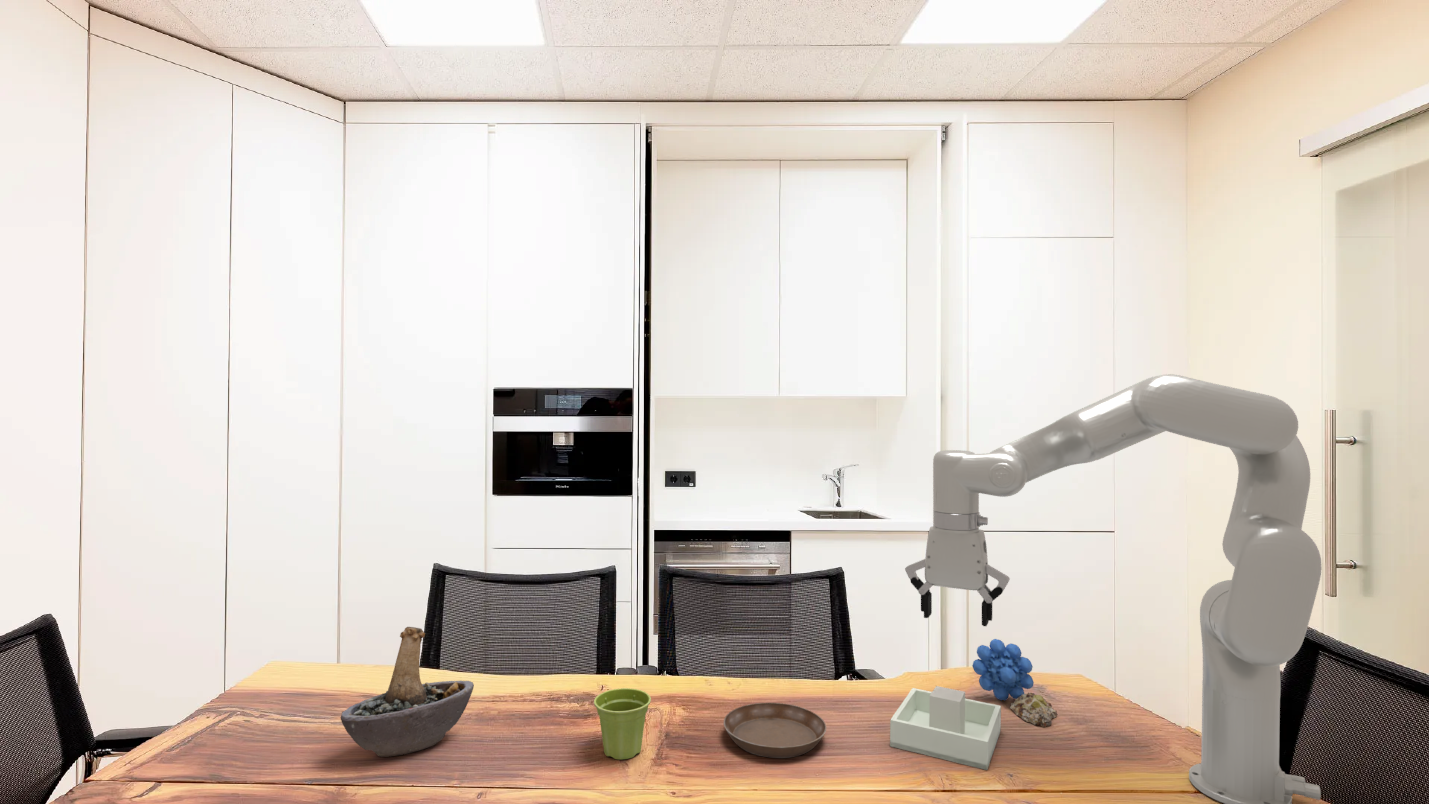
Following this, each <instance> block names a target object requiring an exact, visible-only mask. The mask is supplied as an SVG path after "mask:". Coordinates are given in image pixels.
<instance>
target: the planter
mask: <svg viewBox="0 0 1429 804" xmlns="http://www.w3.org/2000/svg"><path fill="white" fill-rule="evenodd" d="M425 636H426V633H425V632H424V630H423V629H422V628H420V627H414V626H407V627H405V628H404V630H402V631H401V632H400V634H399V637H400V638H401V641H400V645H399V649H398V653H397V656H396V660H395V664H394V669H393V671H392V676H391V680H390V683H389V686H388V688H387V690H386V692H384V693H382V694H378V695H375V696H373V697H371V698H367V699H363V700H362V701H360V702H358V703H355V704H353V705H351V706H349V707H348V708H347V709H346V710H344V711H342V712H341V716H340V722H341V723H342V726H343V727H344V729H345V731H346V733H347V734H348V735H349V737H351V739H352V740H353V742H355V743H356V744H357V745H358V746H360V748H363V749H364V750H365V751H372V752H374V753H375V754H376V755H377V756H378V757H380V758H386V757H387V758H388V757H389V756H390V757H396V756H402V755H403V754H404V755H407V754H411V753H415V752H420V751H422V750H424V749H425V750H426V749H427V748H429V747H432V746H435V745H436V744H437V743H438V742H441V741H443V739H444V737H445V736H446V734H447V732H449V731H450V730H451V729H452V728H453V727H454V726H455V725H456V724H458V722H459V720H460V719H461V717H462V715H463V714H464V712H465V710H466V708H467V706H468V704H469V701H470V698H471V697H472V693H473V691H474V685H475V684H474V683H473V682H474V681H473V682H472V681H471V680H445V681H444V680H443V681H434V682H425V683H422V681H421V677H420V676H421V675H420V659H421V644H422V641H423V639H424V638H425ZM390 757H389V758H390Z"/></svg>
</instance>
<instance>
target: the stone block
mask: <svg viewBox="0 0 1429 804" xmlns="http://www.w3.org/2000/svg"><path fill="white" fill-rule="evenodd" d="M931 692H932V693H931V694H930V706H929V727H933V728H938V729H942V730H947V731H951V732H955V733H960V734H964V732H965V699H966V691H963V690H959V689H958V690H957V689H954V688H949V687H944V686H940V685H935V687H934V689H933V690H932V691H931Z"/></svg>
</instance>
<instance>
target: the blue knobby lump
mask: <svg viewBox="0 0 1429 804" xmlns="http://www.w3.org/2000/svg"><path fill="white" fill-rule="evenodd" d="M1022 653H1023V652H1022V651H1021V648H1020V647H1019V646H1018V645H1017V644H1014V643H1008V644H1007V645H1005V643H1004V642H1003V641H1002V639H997V638H994V639H991V641H989V646H988V645H984V644H981V645H979V646H978V647H977V648H976V654H977V657H978V658H977V659H974V660H973V662H972V665H971V666H972V669H973V671H974V672H975V673H976V674H977V675H979V678H978V683H979V686H980V688H981V689H983V690H984V691H987V692H991V691H992V692H993V695H994V697H995V698H996V699H997V700H999V701H1002V700H1004V701H1006V700H1008V699H1009V697H1011V698H1012V699H1014V700H1016V699H1017V698H1018V697H1020V696H1021V695H1024V694H1025V691H1024V689H1025V690H1030V689H1031V688H1033V686H1034V683H1035V682H1034V680H1033V676H1031V675H1030V674H1029V673H1031V672H1032V671H1033V668H1034V667H1033V664H1032V662H1031V660H1030V659H1029V658H1028V657H1024V656H1022Z"/></svg>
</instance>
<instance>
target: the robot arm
mask: <svg viewBox="0 0 1429 804" xmlns="http://www.w3.org/2000/svg"><path fill="white" fill-rule="evenodd" d="M1165 432H1167V433H1168V432H1169V433H1172V434H1175V435H1178V436H1182V437H1186V438H1189V439H1193V440H1196V441H1201V442H1205V443H1209V444H1214V445H1216V446H1223V447H1226V448H1228V449H1230V451H1231V452H1232V453H1233V455H1234V458H1235V459H1236V462H1237V463H1236V464H1237V468H1238V470H1237V471H1238V476H1237V483H1236V487H1235V488H1236V489H1235V494H1234V498H1233V501H1232V506H1231V510H1230V514H1229V518H1228V521H1227V524H1226V527H1225V531H1224V534H1223V538H1222V543H1221V544H1222V549H1223V550H1222V551H1223V554H1224V556H1225V558H1226V559H1227V561H1228V563H1230V564H1231V565H1232V566H1233V568H1234V569H1233V573H1232V577H1231V579H1227V580H1223V581H1219V582H1217V583H1215V584H1213V585H1212V586H1210V587H1209V588H1208V589H1207V590H1206V591H1205V593H1204V594H1203V596H1202V599H1201V601H1200V602H1201V603H1200V607H1199V625H1200V635H1201V648H1202V681H1201V684H1202V685H1201V686H1202V688H1201V691H1202V692H1201V695H1202V696H1201V703H1202V704H1201V753H1200V754H1201V760H1200V763H1196V764H1193V765H1192V766H1191V767H1189V770H1188V779H1189V781H1190V783H1191V785H1193V786H1194V787H1195V788H1196V789H1197V790H1199V792H1201V793H1203V795H1205V796H1207V797H1209V798H1211V799H1213V800H1215V801H1217V802H1219V803H1221V804H1222V803H1223V804H1292V803H1293V796H1294V795H1298V796H1303V797H1305V798H1309V799H1314V800H1318V801H1320V800H1321V797H1322V795H1321V787H1320V785H1318V784H1314V783H1309V782H1306V779H1305V776H1304V777H1303V776H1298V775H1294V774H1293V775H1292V774H1287V773H1286V772H1285V771H1283V770H1282V768H1281V766H1280V724H1281V723H1280V721H1281V720H1280V718H1281V715H1280V714H1281V711H1280V710H1281V709H1280V708H1281V669H1280V668H1281V667H1280V665H1283V664H1285V663H1286V662H1288V661H1290V660H1291V659H1292V658H1294V657H1295V655H1296V654H1297V653H1298V652H1299V650H1300V649H1301V647H1302V645H1303V642H1304V639H1305V637H1306V635H1307V630H1308V627H1309V623H1310V620H1311V616H1312V613H1313V607H1314V605H1315V600H1316V598H1317V593H1318V590H1319V589H1318V588H1319V584H1320V580H1321V577H1322V576H1321V575H1322V558H1321V553H1320V550H1319V547H1318V546H1317V544H1316V543H1315V542H1316V541H1314V539H1312V538H1311V536H1310V535H1309V534H1308V533H1306V532H1305V531H1304V530H1303V529H1302V528H1303V523H1304V517H1305V513H1306V509H1307V508H1306V507H1307V501H1308V497H1309V492H1310V485H1311V468H1310V461H1309V458H1308V455H1307V452H1306V450H1305V448H1304V446H1303V444H1302V442H1301V441H1300V439H1299V437H1298V435H1297V434H1298V432H1299V420H1298V417H1297V415H1296V412H1295V411H1294V410H1293V408H1292V407H1291V406H1290V404H1288V403H1286V402H1285V401H1284V400H1282V399H1280V398H1278V397H1275V396H1273V395H1269V394H1264V393H1260V392H1255V391H1250V390H1245V389H1241V388H1235V387H1231V386H1227V385H1221V384H1218V383H1213V382H1209V381H1204V380H1200V379H1196V378H1193V377H1188V376H1183V375H1180V374H1179V375H1178V374H1173V373H1170V374H1167V373H1166V374H1160V375H1156V376H1152V377H1148V378H1146V379H1143V380H1141V381H1139V382H1136V383H1135V384H1132V385H1130V386H1128V387H1126V388H1123V389H1121V390H1118V391H1117V392H1115V393H1113V394H1110V395H1108V396H1106V397H1104V398H1102V399H1099V400H1097V401H1095V402H1093V403H1091V404H1089V405H1087V406H1084V407H1082V408H1080V409H1078V410H1075V411H1073V412H1071V413H1069V414H1067V415H1065V416H1062V417H1061V418H1059V419H1058V420H1056V421H1054V422H1052V423H1051V424H1048V425H1046V426H1044V427H1042V428H1040V429H1037V430H1035V431H1032V432H1031V433H1029V434H1026V435H1025V436H1022V437H1020V438H1018V439H1016V440H1014V441H1012V442H1009V443H1007V444H1004V445H1002V446H1000V447H998V448H996V449H994V450H992V451H990V452H987V453H975V452H973V451H970V450H953V449H951V450H950V449H949V450H948V449H947V450H946V449H945V450H940V451H937V452H936V453H935V454H934V455H933V459H932V460H933V462H932V463H933V464H932V468H933V469H932V472H933V473H932V481H933V482H932V485H933V487H932V495H933V497H932V499H933V500H932V501H933V502H932V503H933V504H932V505H933V507H932V511H933V512H932V519H933V521H932V522H933V523H932V524H933V526H930V527H929V530H928V534H927V539H926V540H927V541H926V548H925V558H924V559H921V560H919V561H916V562H914V563H911V564H908V565H907V566H906V567H905V568H904V570H905V572H906V575H907V576H908V579H909V580H910V583H911V585H912V586H913V587H914V588H915V589H916V590H917V591H918V594H919V595H920V611H921V612H923V618H924V619H928V618H930V616H931V615H932V612H933V611H932V608H933V605H932V604H933V603H932V601H933V600H932V596H933V595H932V592H931V590H930V589H931V587H933V586H934V587H942V588H950V589H956V590H957V589H958V590H959V589H960V590H967V591H977V593H978V595H980V596H981V598H982V599H983V601H982V602H981V626H983V627H987V626H988V624H989V621H990V622H992V621H993V601H994V600H996V599H997V598H998V597H1000V595H1002V594H1003V592H1004V591H1005V589H1006V587H1007V585H1008V584H1009V582H1010V579H1011V578H1010V577H1009V576H1008V575H1006V574H1005V573H1003V572H1001V570H998V569H997V568H995V567H994V566H991V565H990V564H989V563H988V562H989V561H988V550H987V549H988V547H987V542H986V535H985V531H984V530H983V529H980V527H981V526H987V525H988V524H989V523H988V521H989V520H988V519H989V517H987V516H986V517H985V516H983V515H981V514H980V506H979V505H980V502H979V501H980V497H979V496H980V494H983V495H988V496H994V497H1000V498H1001V497H1002V498H1003V497H1004V498H1007V497H1011V496H1014V495H1017V494H1018V493H1020V492H1021V491H1022V490H1023V488H1024V487H1025V485H1026V484H1027V483H1029V482H1031V481H1033V480H1036V479H1038V478H1040V477H1043V476H1045V475H1047V474H1050V473H1052V472H1054V471H1057V470H1060V469H1063V468H1066V467H1070V466H1074V465H1079V464H1087V463H1092V462H1094V461H1098V460H1101V459H1104V458H1106V457H1108V456H1111V455H1113V454H1115V453H1117V452H1119V451H1121V450H1124V449H1126V448H1129V447H1132V446H1133V445H1136V444H1138V443H1141V442H1143V441H1145V440H1149V439H1150V438H1152V437H1153V438H1154V437H1155V436H1158V435H1160V434H1162V433H1165ZM922 569H924V578H925V582H923V581H922V579H921V578H920V577H919V576H918V574H917V571H919V570H922ZM989 576H990V577H991V578H994V580H997V582H998V584H997V585H996V587H994V588H993V589H992V590H991V589H990V587H989V586H988V585H987V584H988V581H989ZM1293 794H1294V795H1293Z"/></svg>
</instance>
